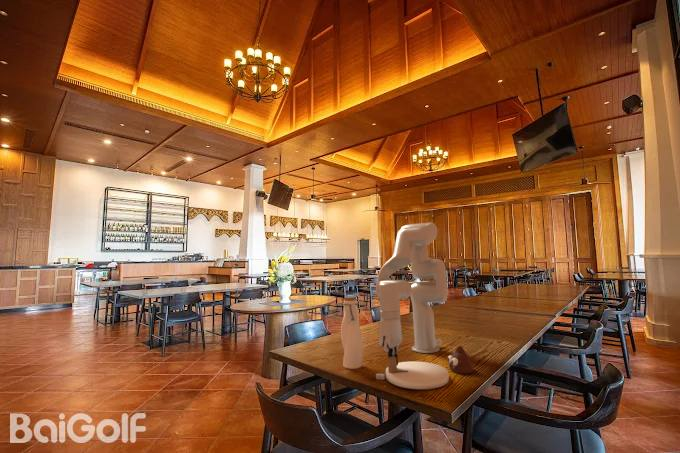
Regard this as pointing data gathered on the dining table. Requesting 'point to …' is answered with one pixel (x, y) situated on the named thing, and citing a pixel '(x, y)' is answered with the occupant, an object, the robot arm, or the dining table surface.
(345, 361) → the water bottle
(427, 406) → the dining table surface
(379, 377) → the pointer
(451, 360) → the poop emoji
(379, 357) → the dining table surface
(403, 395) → the dining table surface
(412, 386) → the turntable
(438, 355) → the dining table surface
